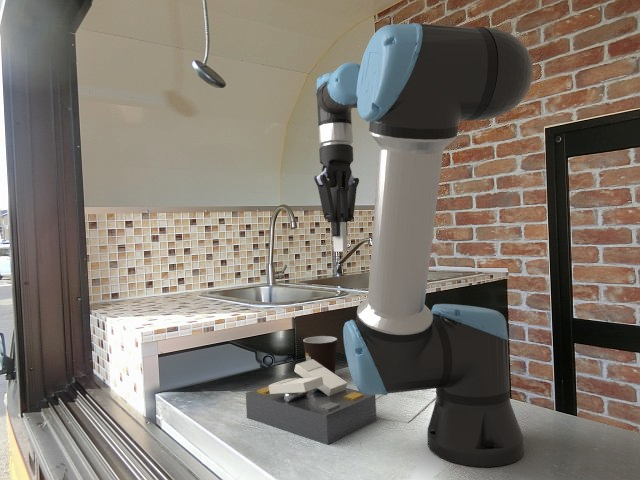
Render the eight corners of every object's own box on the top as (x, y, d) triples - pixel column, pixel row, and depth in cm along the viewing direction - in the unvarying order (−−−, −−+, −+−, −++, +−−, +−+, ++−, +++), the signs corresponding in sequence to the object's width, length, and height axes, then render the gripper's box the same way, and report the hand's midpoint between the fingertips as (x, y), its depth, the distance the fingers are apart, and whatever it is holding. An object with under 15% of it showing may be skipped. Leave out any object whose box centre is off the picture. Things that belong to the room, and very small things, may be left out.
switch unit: (376, 420, 95) (374, 386, 95) (327, 444, 85) (326, 407, 85) (296, 399, 110) (295, 369, 110) (246, 417, 100) (245, 385, 100)
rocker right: (345, 389, 99) (347, 382, 99) (328, 396, 95) (330, 388, 95) (311, 365, 105) (312, 358, 105) (294, 371, 102) (295, 363, 101)
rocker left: (323, 385, 94) (321, 375, 94) (305, 392, 90) (303, 382, 90) (288, 387, 100) (286, 378, 100) (269, 393, 97) (268, 384, 97)
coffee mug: (339, 383, 121) (337, 342, 121) (304, 384, 121) (302, 343, 121) (338, 370, 133) (336, 333, 133) (306, 371, 133) (304, 334, 133)
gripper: (341, 151, 118) (346, 250, 118) (303, 145, 108) (308, 253, 108) (367, 146, 113) (371, 249, 113) (328, 139, 103) (333, 252, 103)
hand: (340, 251), depth 111 cm, fingers closed
